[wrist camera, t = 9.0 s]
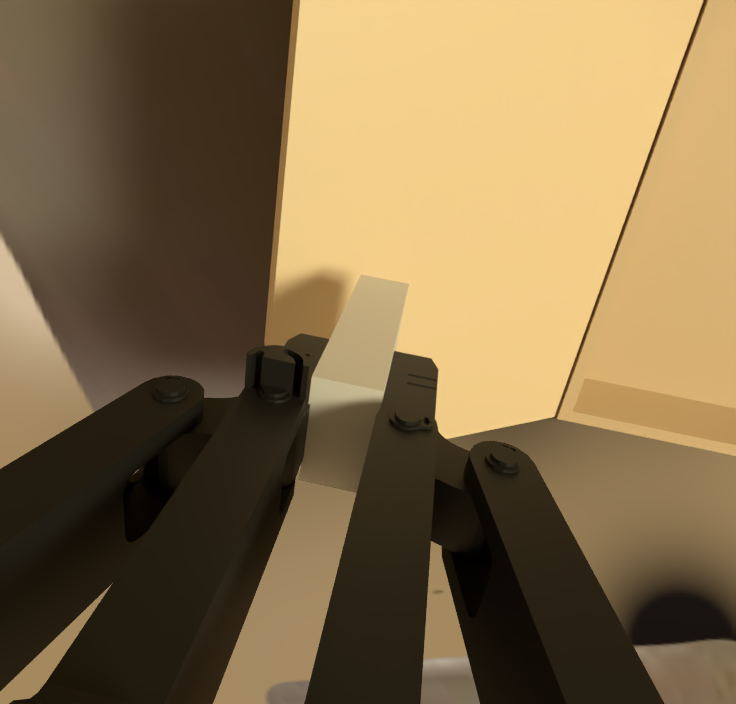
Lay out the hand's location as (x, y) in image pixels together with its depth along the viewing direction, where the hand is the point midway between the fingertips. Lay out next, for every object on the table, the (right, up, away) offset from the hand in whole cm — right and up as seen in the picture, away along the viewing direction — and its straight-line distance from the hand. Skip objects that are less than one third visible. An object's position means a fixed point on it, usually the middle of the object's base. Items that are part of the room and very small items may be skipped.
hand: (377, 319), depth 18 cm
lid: (+4, +5, +3) cm, 7 cm away
